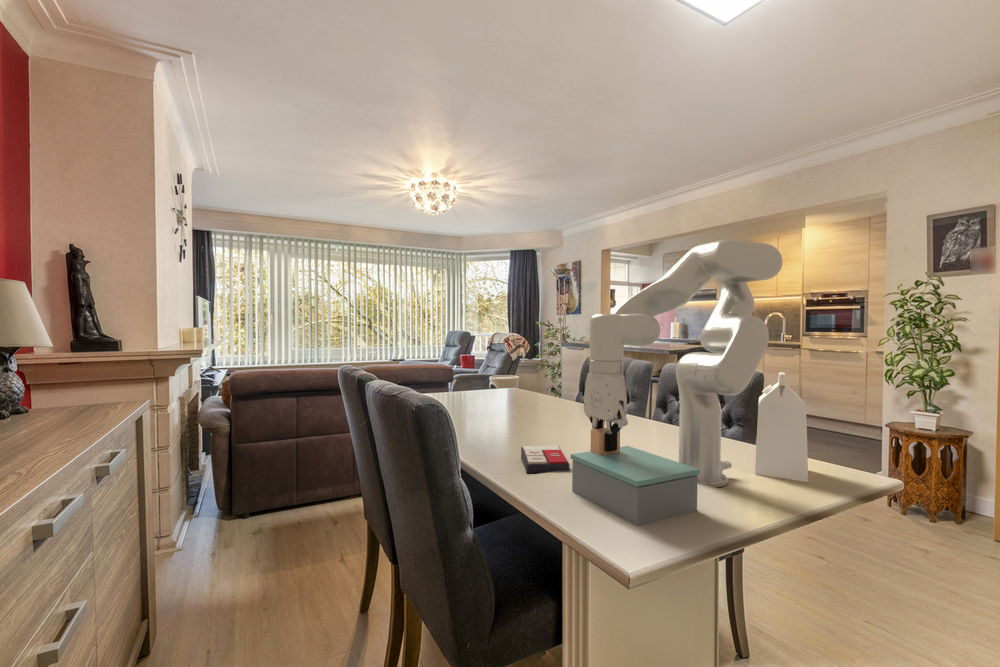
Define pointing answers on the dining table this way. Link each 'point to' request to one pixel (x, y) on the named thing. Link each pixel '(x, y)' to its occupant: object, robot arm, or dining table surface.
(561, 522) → the dining table surface
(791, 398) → the milk
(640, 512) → the tub
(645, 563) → the dining table surface
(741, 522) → the dining table surface
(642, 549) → the dining table surface
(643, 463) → the lid
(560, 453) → the calculator
